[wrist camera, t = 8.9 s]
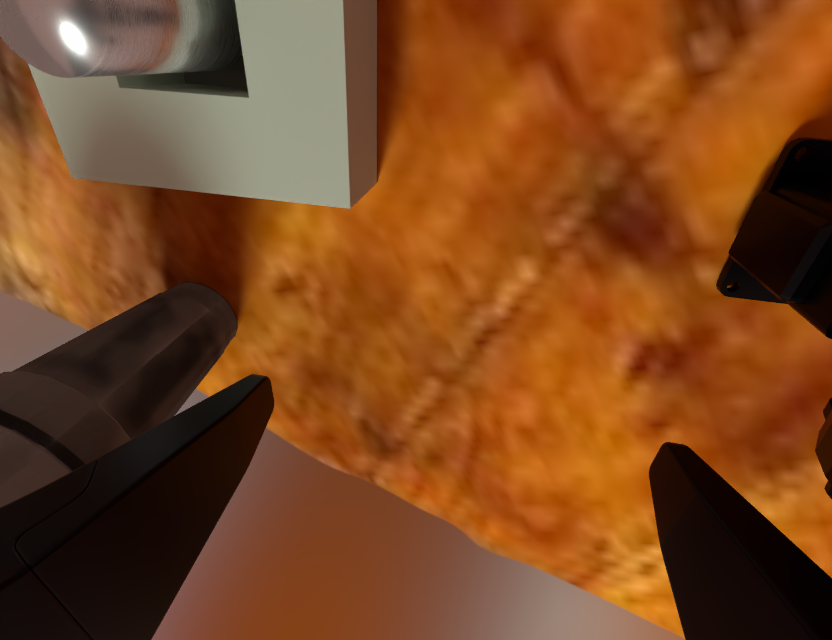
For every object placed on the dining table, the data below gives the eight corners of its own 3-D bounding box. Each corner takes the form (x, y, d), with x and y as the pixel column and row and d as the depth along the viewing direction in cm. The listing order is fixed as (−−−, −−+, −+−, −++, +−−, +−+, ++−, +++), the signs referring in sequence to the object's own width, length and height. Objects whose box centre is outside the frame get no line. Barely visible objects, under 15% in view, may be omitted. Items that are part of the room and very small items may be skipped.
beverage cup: (127, 257, 24) (-751, 710, 7) (241, 263, 23) (-489, 824, 6) (169, 357, 28) (-336, 805, 11) (270, 367, 26) (-126, 885, 10)
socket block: (377, -219, 13) (332, -322, 9) (377, 183, 19) (350, 208, 16) (35, -212, 14) (-112, -298, 11) (142, 159, 20) (72, 178, 17)
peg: (264, -37, 15) (69, -109, 8) (274, 74, 17) (122, 85, 10) (178, -44, 15) (-73, -119, 9) (197, 64, 17) (3, 69, 11)
